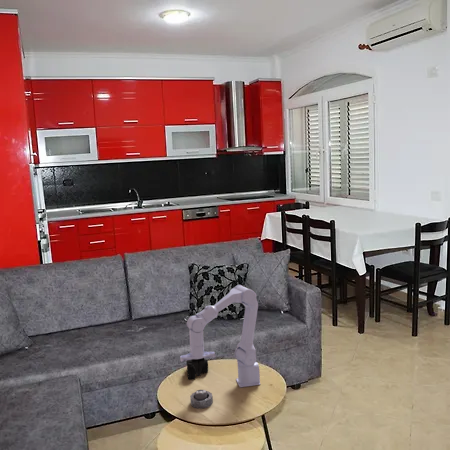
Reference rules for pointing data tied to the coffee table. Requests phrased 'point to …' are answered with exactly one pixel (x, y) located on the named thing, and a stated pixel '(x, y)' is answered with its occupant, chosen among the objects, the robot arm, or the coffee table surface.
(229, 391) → the coffee table surface
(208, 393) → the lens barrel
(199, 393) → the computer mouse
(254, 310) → the robot arm
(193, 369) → the film camera
